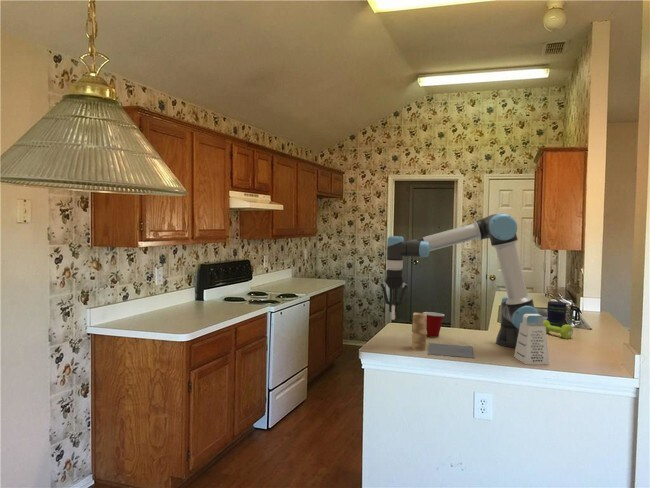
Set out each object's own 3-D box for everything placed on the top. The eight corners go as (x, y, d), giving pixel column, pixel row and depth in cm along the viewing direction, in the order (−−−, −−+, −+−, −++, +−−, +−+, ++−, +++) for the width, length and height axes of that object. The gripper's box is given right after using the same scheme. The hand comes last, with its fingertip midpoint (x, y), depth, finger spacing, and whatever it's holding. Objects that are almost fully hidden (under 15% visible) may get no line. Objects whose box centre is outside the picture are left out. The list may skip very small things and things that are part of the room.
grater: (549, 364, 207) (551, 317, 206) (525, 364, 206) (527, 317, 205) (536, 357, 217) (538, 312, 216) (513, 357, 216) (515, 312, 215)
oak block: (425, 347, 231) (426, 313, 230) (425, 350, 225) (426, 315, 224) (412, 345, 232) (413, 312, 231) (411, 349, 226) (412, 314, 226)
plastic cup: (448, 336, 252) (449, 313, 251) (433, 339, 246) (434, 315, 245) (432, 332, 261) (433, 310, 260) (418, 335, 255) (418, 312, 254)
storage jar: (542, 327, 279) (543, 301, 278) (554, 326, 283) (555, 300, 282) (557, 331, 270) (558, 304, 269) (569, 330, 274) (570, 303, 273)
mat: (472, 346, 233) (472, 346, 233) (475, 358, 213) (475, 357, 213) (429, 343, 237) (429, 343, 237) (428, 354, 218) (428, 353, 218)
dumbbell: (536, 333, 265) (537, 320, 264) (545, 332, 269) (546, 319, 269) (565, 340, 251) (565, 326, 250) (574, 338, 255) (574, 324, 255)
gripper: (409, 269, 232) (407, 318, 233) (381, 267, 235) (380, 316, 236) (408, 270, 224) (406, 321, 226) (379, 269, 227) (378, 319, 229)
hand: (393, 319), depth 231 cm, fingers closed
